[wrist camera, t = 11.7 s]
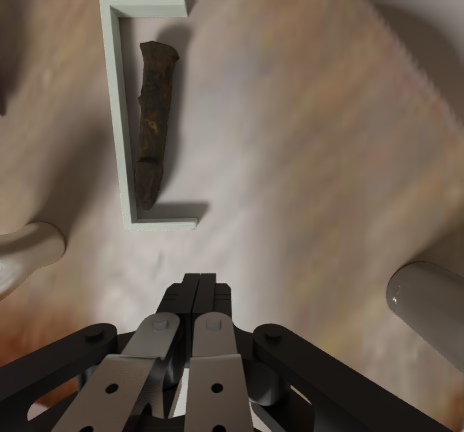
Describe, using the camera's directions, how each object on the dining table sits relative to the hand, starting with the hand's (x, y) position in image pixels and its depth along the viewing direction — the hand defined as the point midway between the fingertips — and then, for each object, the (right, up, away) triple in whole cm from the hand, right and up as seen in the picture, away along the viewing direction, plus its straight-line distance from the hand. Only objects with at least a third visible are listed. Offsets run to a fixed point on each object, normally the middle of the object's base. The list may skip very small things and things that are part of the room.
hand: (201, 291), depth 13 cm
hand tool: (-7, +14, +21) cm, 26 cm away
